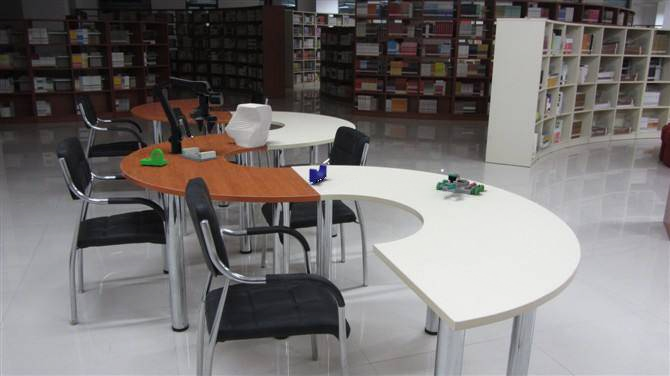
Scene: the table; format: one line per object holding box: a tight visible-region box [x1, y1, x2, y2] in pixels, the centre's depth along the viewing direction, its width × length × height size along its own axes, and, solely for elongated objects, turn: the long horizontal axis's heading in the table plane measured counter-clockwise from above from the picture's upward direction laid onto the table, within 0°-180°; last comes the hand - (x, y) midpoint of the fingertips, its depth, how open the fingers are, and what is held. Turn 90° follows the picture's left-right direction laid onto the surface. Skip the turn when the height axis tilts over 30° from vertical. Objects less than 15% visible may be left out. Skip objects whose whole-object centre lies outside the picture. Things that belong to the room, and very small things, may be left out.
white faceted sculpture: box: [224, 103, 273, 149], centre depth 330 cm, size 21×27×26 cm
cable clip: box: [308, 164, 328, 183], centre depth 250 cm, size 12×4×6 cm, turn 156°
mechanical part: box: [139, 148, 169, 166], centre depth 278 cm, size 12×6×8 cm, turn 79°
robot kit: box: [436, 172, 485, 196], centre depth 228 cm, size 19×25×9 cm
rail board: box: [179, 146, 219, 163], centre depth 295 cm, size 18×12×4 cm, turn 47°
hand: (204, 132), depth 304 cm, fingers open, 9 cm apart
